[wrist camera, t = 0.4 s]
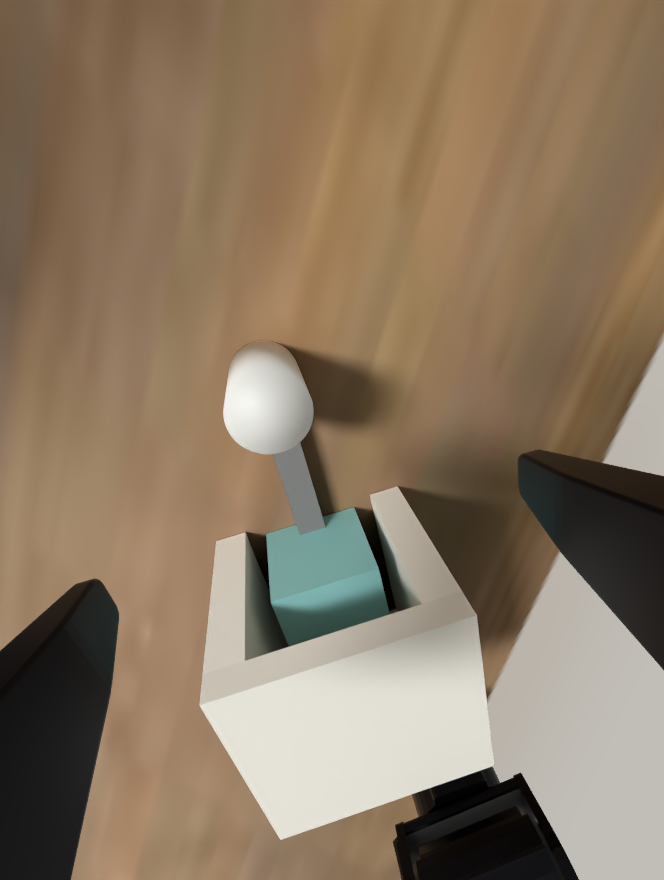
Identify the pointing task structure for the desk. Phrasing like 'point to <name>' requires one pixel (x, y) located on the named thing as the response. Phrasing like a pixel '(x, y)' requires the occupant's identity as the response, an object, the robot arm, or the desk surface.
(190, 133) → the desk surface
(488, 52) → the desk surface
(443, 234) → the desk surface
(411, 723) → the white box
